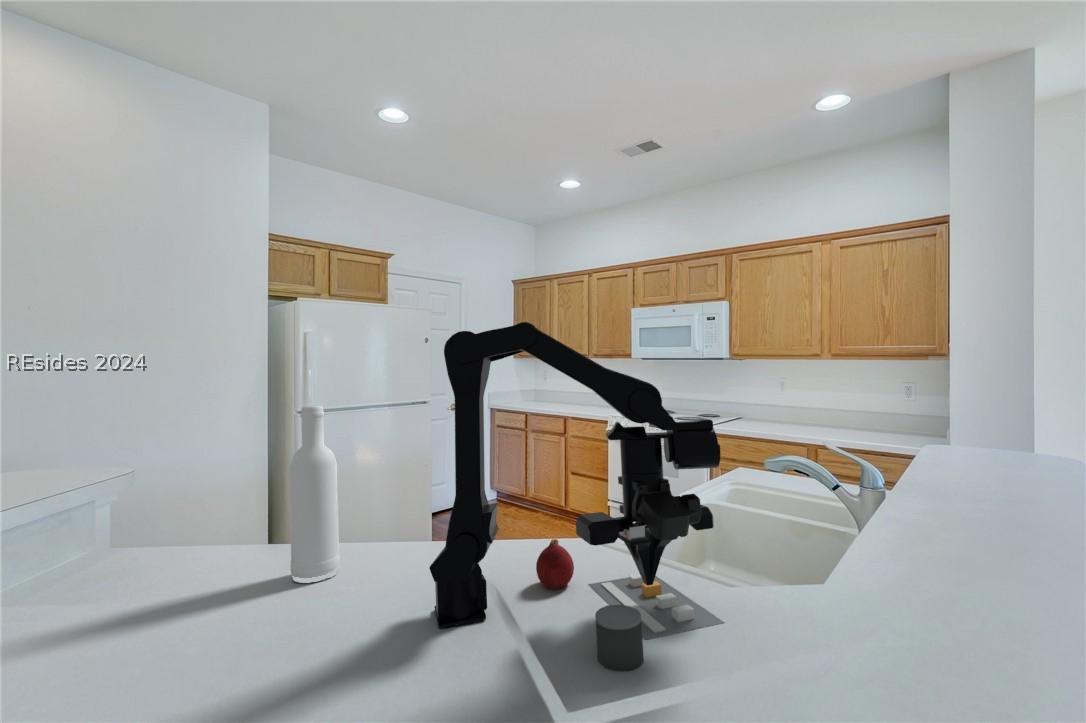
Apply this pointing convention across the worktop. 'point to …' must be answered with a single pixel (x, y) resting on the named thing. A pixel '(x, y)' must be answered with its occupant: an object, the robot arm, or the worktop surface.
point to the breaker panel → (656, 606)
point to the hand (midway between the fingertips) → (648, 584)
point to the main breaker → (651, 589)
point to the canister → (619, 638)
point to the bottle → (313, 501)
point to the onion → (554, 566)
